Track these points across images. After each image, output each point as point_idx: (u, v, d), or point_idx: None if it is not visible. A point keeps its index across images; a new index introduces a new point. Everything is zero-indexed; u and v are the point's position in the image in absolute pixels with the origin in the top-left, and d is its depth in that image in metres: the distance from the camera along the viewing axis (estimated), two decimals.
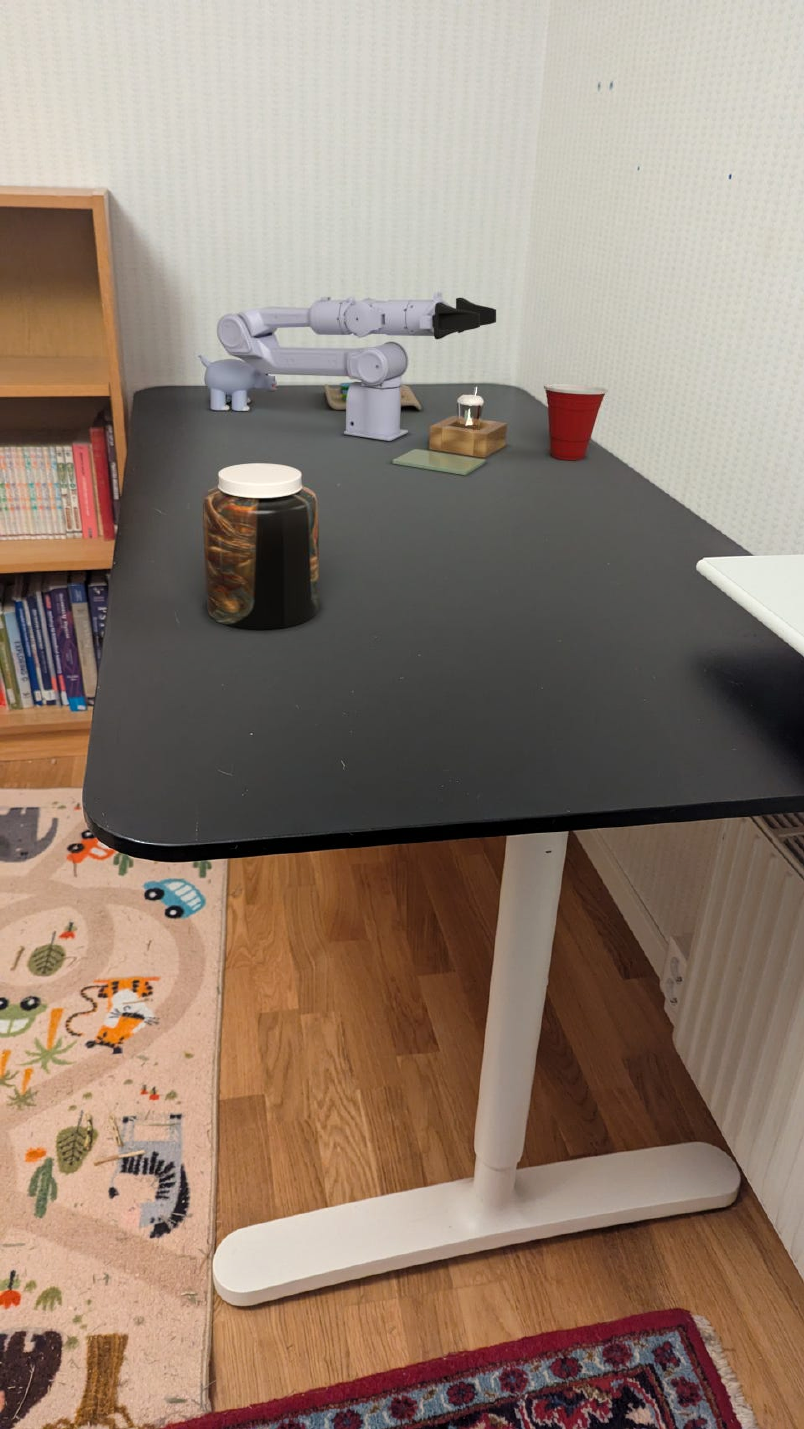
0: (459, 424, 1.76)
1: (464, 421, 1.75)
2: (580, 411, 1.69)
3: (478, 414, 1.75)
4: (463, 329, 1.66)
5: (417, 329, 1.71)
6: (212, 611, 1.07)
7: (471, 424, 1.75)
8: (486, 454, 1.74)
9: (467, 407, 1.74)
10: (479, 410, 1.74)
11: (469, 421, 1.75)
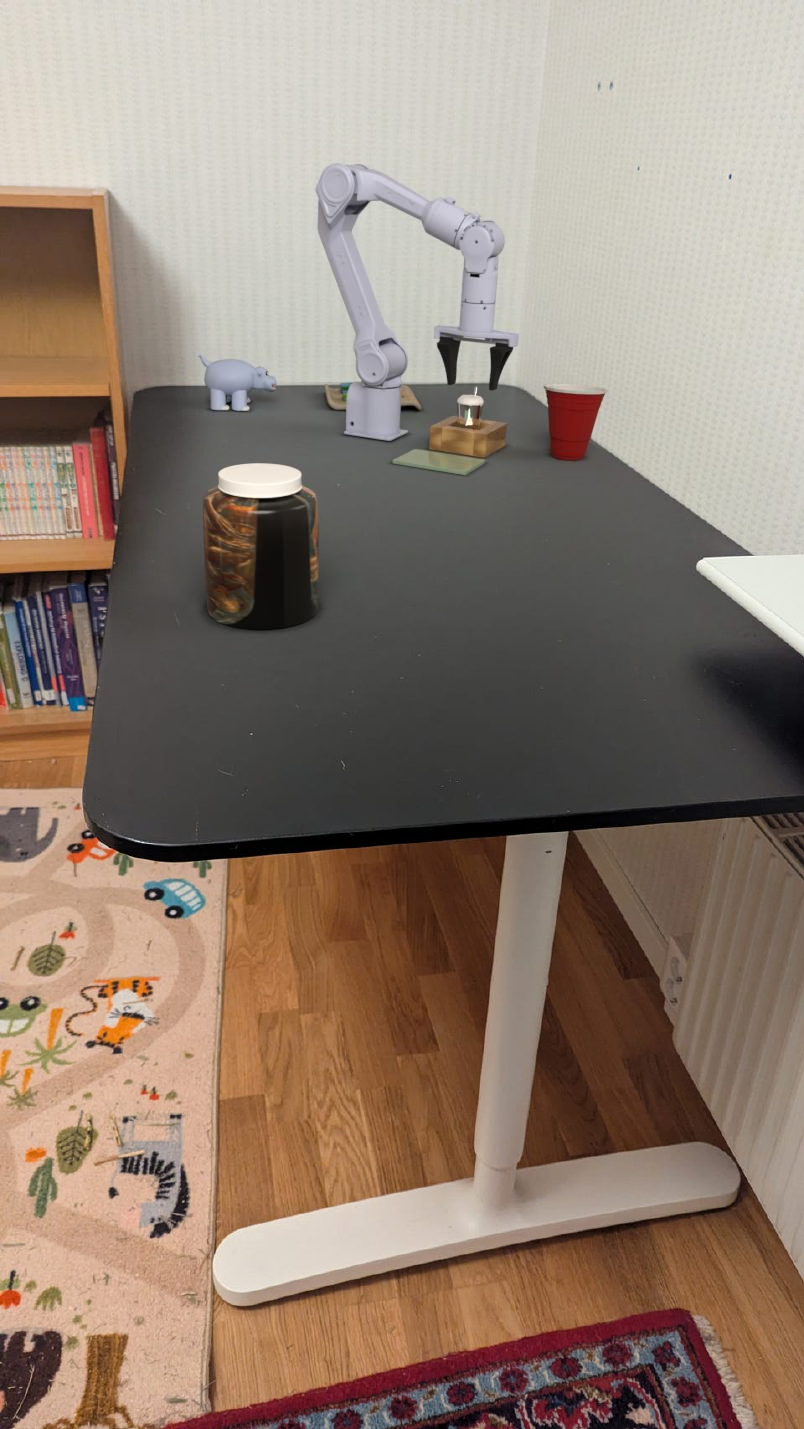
0: (459, 424, 1.76)
1: (464, 421, 1.75)
2: (580, 411, 1.69)
3: (478, 414, 1.75)
4: (495, 375, 1.71)
5: (487, 316, 1.67)
6: (212, 611, 1.07)
7: (471, 424, 1.75)
8: (486, 454, 1.74)
9: (467, 407, 1.74)
10: (479, 410, 1.74)
11: (469, 421, 1.75)
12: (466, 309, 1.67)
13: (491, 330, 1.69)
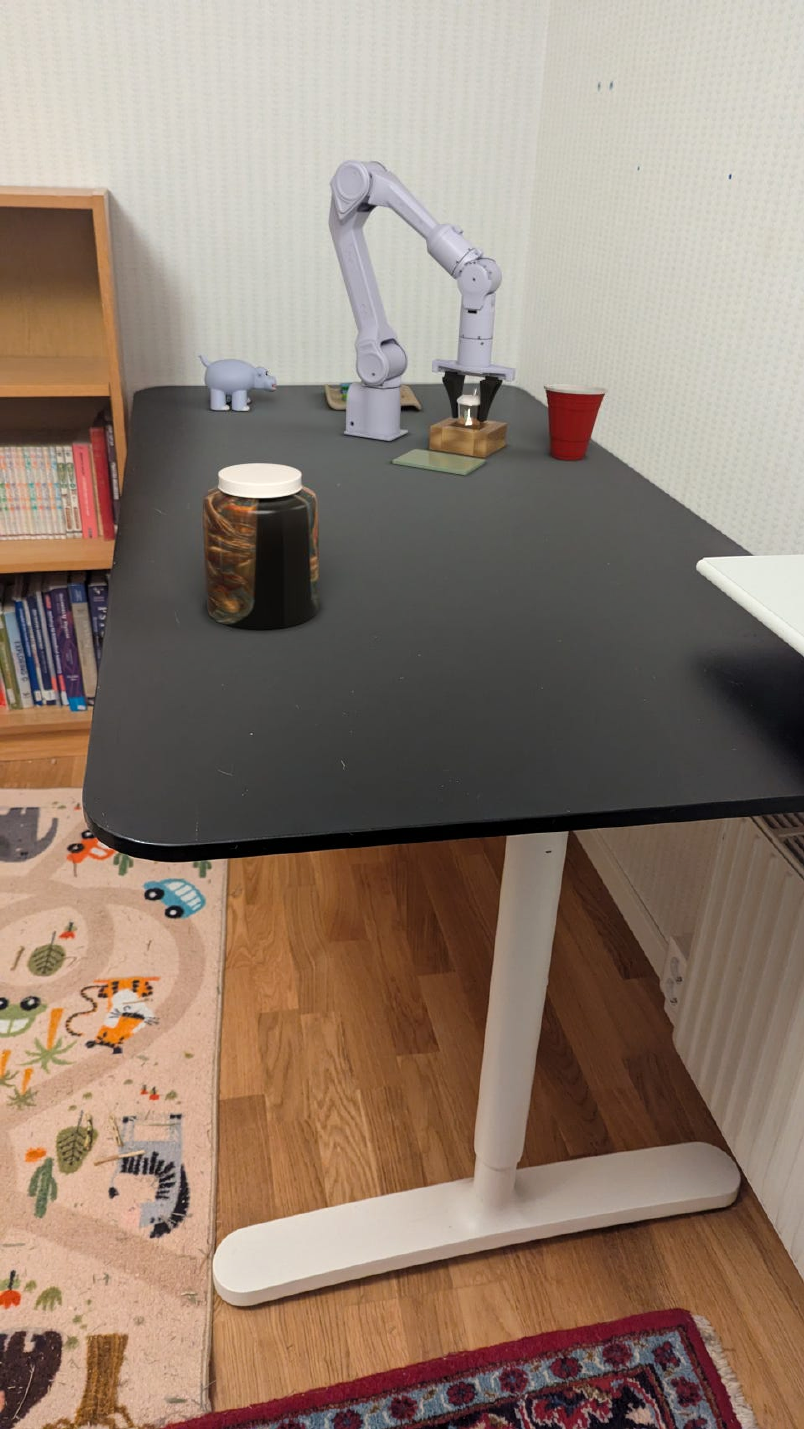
0: (459, 424, 1.76)
1: (464, 421, 1.75)
2: (580, 411, 1.69)
3: (478, 414, 1.75)
4: (485, 408, 1.74)
5: (484, 351, 1.69)
6: (212, 611, 1.07)
7: (471, 424, 1.75)
8: (486, 454, 1.74)
9: (467, 406, 1.74)
10: (479, 410, 1.74)
11: (468, 421, 1.75)
12: (464, 344, 1.69)
13: (488, 364, 1.71)
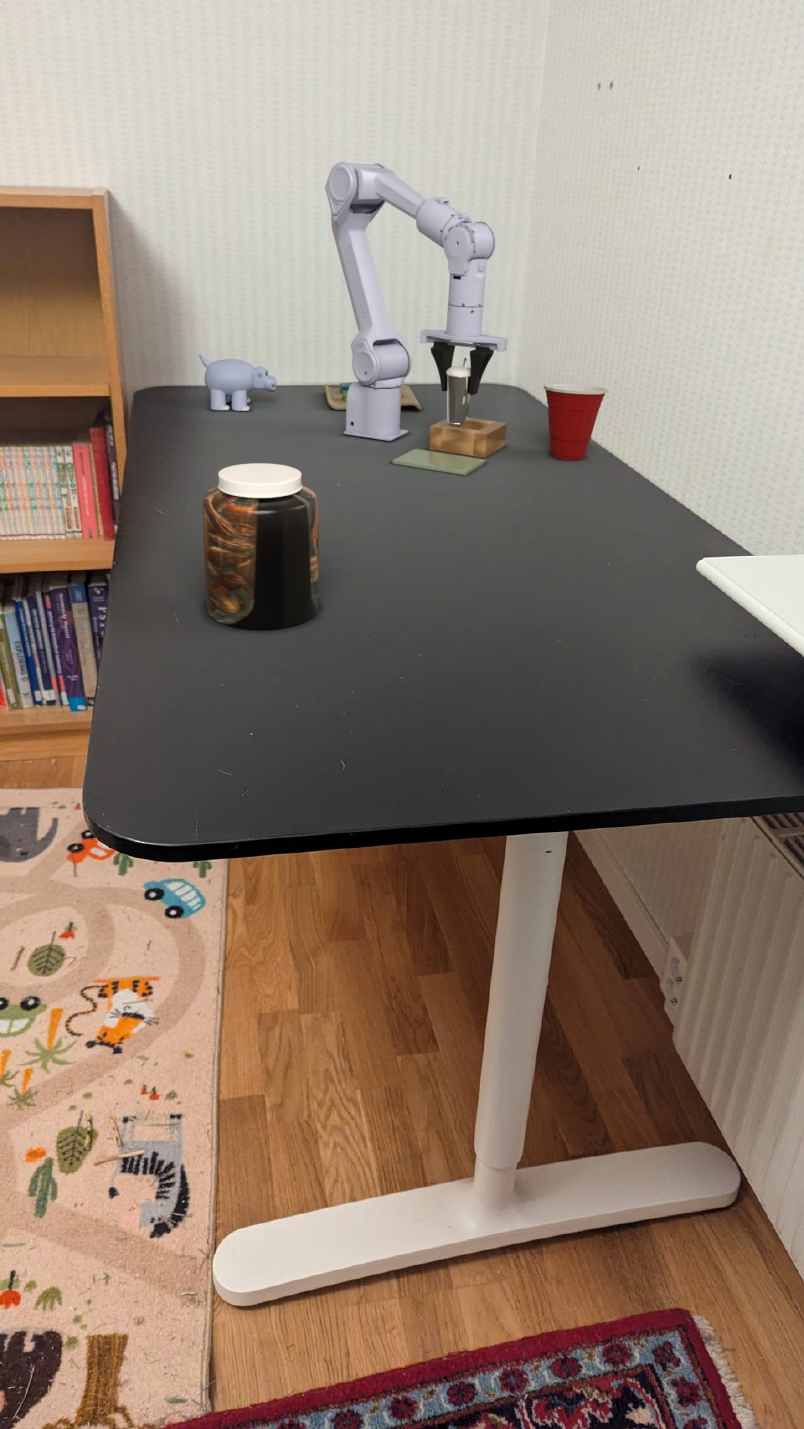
0: (448, 397, 1.69)
1: (453, 393, 1.68)
2: (580, 411, 1.69)
3: (468, 386, 1.68)
4: (475, 380, 1.66)
5: (474, 320, 1.62)
6: (212, 611, 1.07)
7: (461, 397, 1.68)
8: (486, 454, 1.74)
9: (457, 378, 1.66)
10: (469, 382, 1.67)
11: (458, 394, 1.68)
12: (453, 312, 1.62)
13: (479, 334, 1.64)
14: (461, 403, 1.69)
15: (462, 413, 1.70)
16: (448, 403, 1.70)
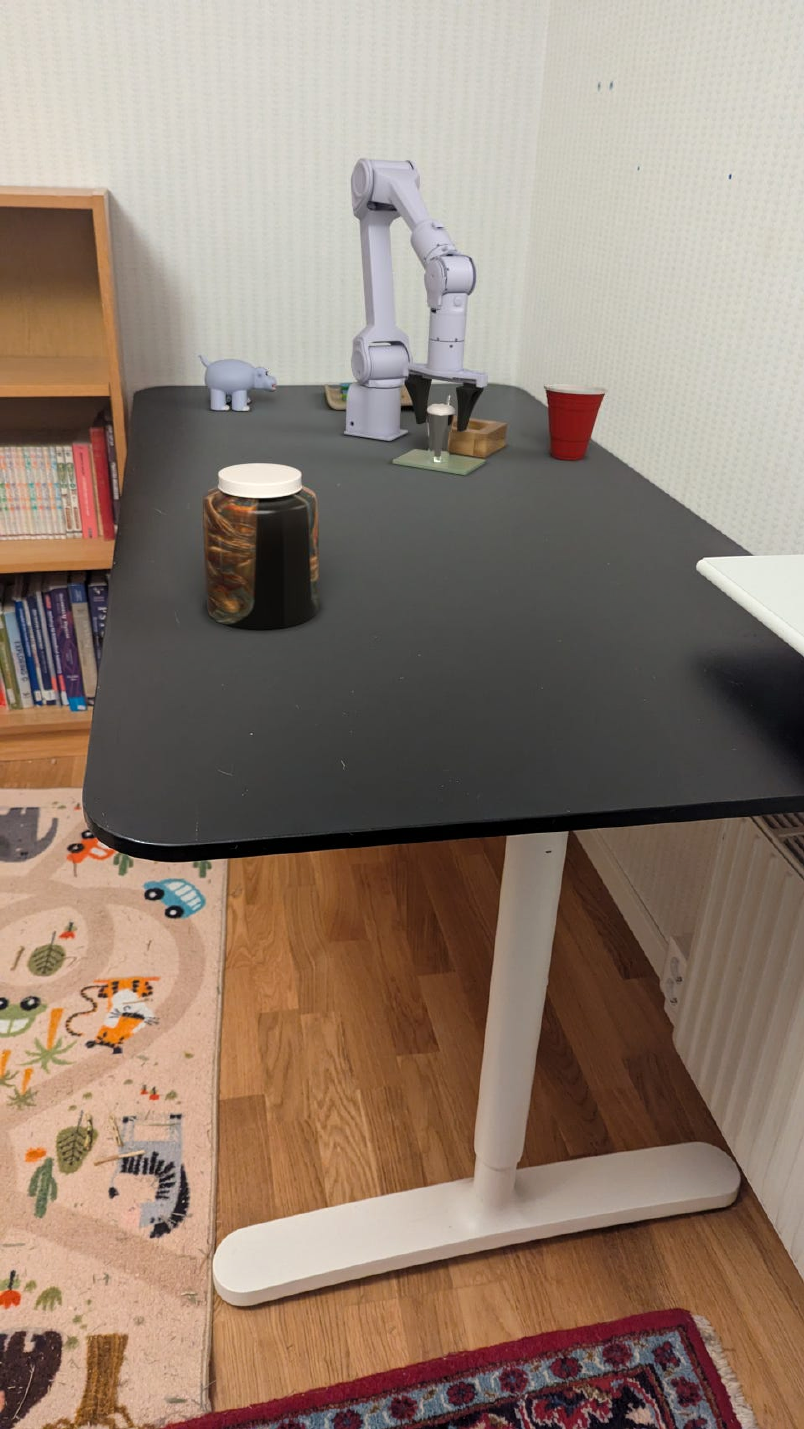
0: (429, 435, 1.66)
1: (433, 431, 1.64)
2: (580, 411, 1.69)
3: (448, 424, 1.64)
4: (463, 416, 1.62)
5: (454, 354, 1.58)
6: (212, 611, 1.07)
7: (440, 435, 1.64)
8: (486, 454, 1.74)
9: (436, 416, 1.63)
10: (449, 420, 1.64)
11: (438, 432, 1.64)
12: (432, 347, 1.58)
13: (459, 369, 1.60)
14: (441, 441, 1.65)
15: (442, 451, 1.66)
16: (428, 441, 1.66)
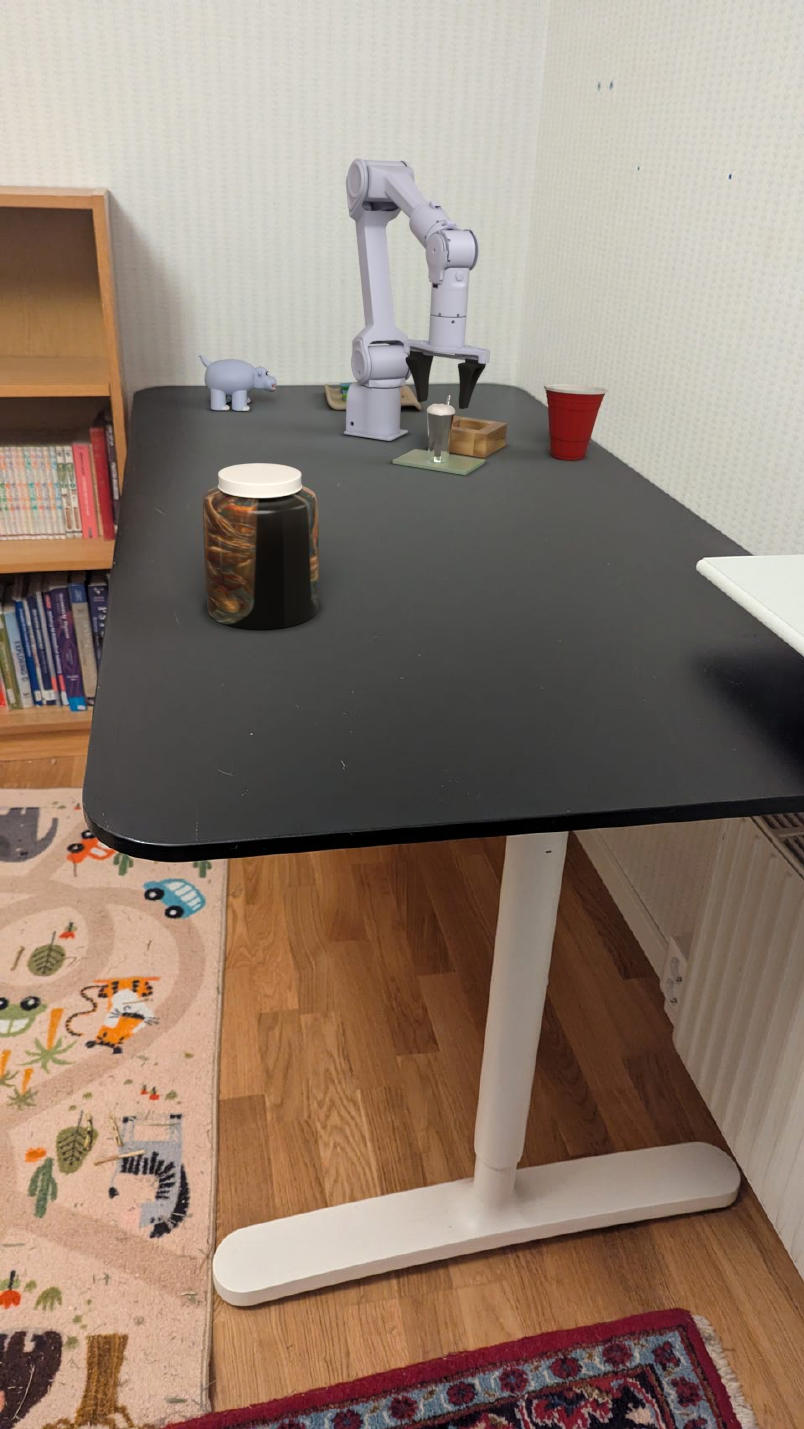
0: (429, 435, 1.66)
1: (433, 431, 1.64)
2: (580, 411, 1.69)
3: (448, 424, 1.64)
4: (465, 393, 1.60)
5: (455, 330, 1.57)
6: (212, 611, 1.07)
7: (440, 435, 1.64)
8: (486, 454, 1.74)
9: (436, 416, 1.63)
10: (449, 420, 1.64)
11: (438, 432, 1.64)
12: (434, 322, 1.57)
13: (461, 345, 1.59)
14: (441, 441, 1.65)
15: (442, 451, 1.66)
16: (428, 441, 1.66)
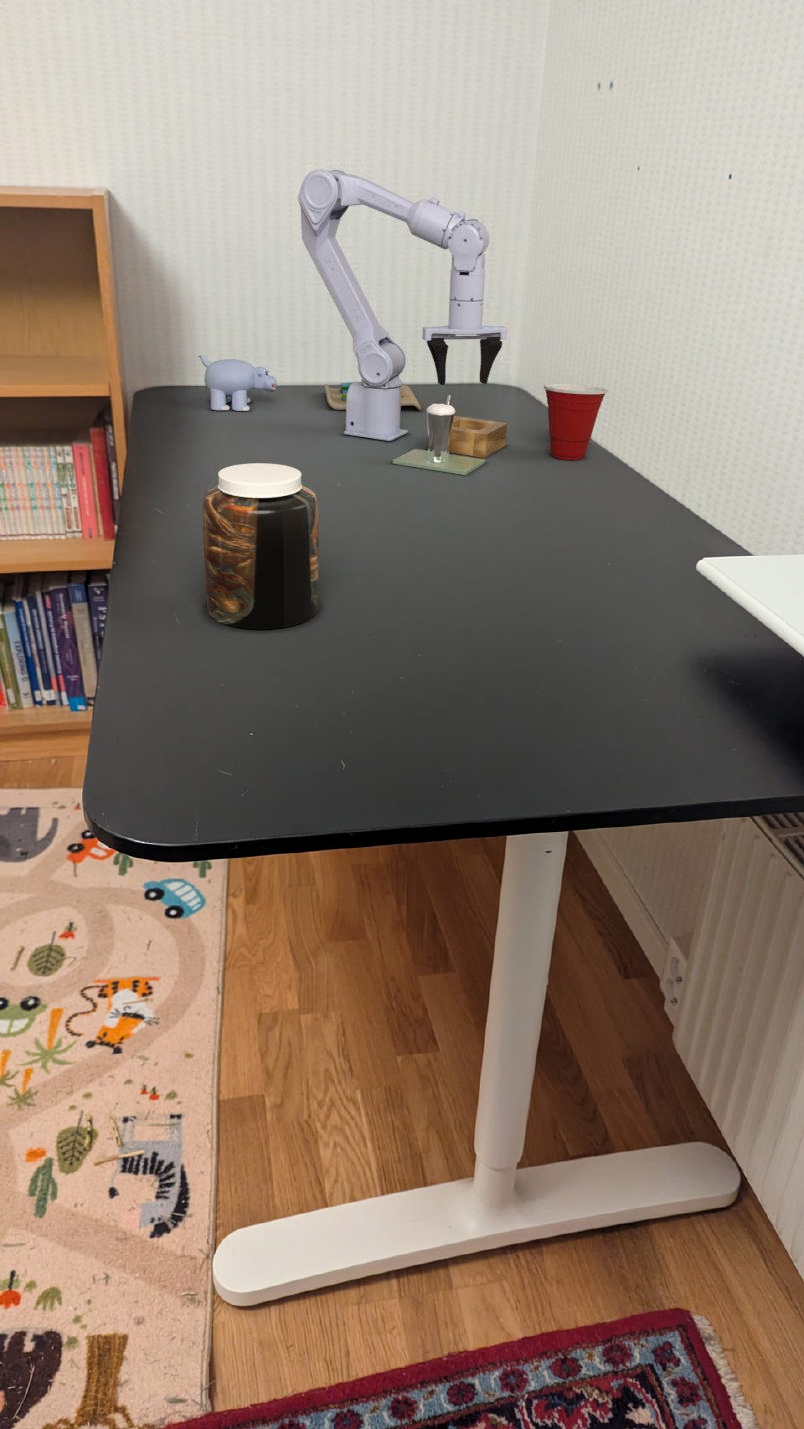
0: (429, 435, 1.66)
1: (433, 431, 1.64)
2: (580, 411, 1.69)
3: (448, 424, 1.64)
4: (490, 369, 1.76)
5: (482, 312, 1.70)
6: (212, 611, 1.07)
7: (440, 435, 1.64)
8: (486, 454, 1.74)
9: (436, 416, 1.63)
10: (449, 420, 1.64)
11: (438, 432, 1.64)
12: (465, 307, 1.68)
13: None
14: (441, 441, 1.65)
15: (442, 451, 1.66)
16: (428, 441, 1.66)
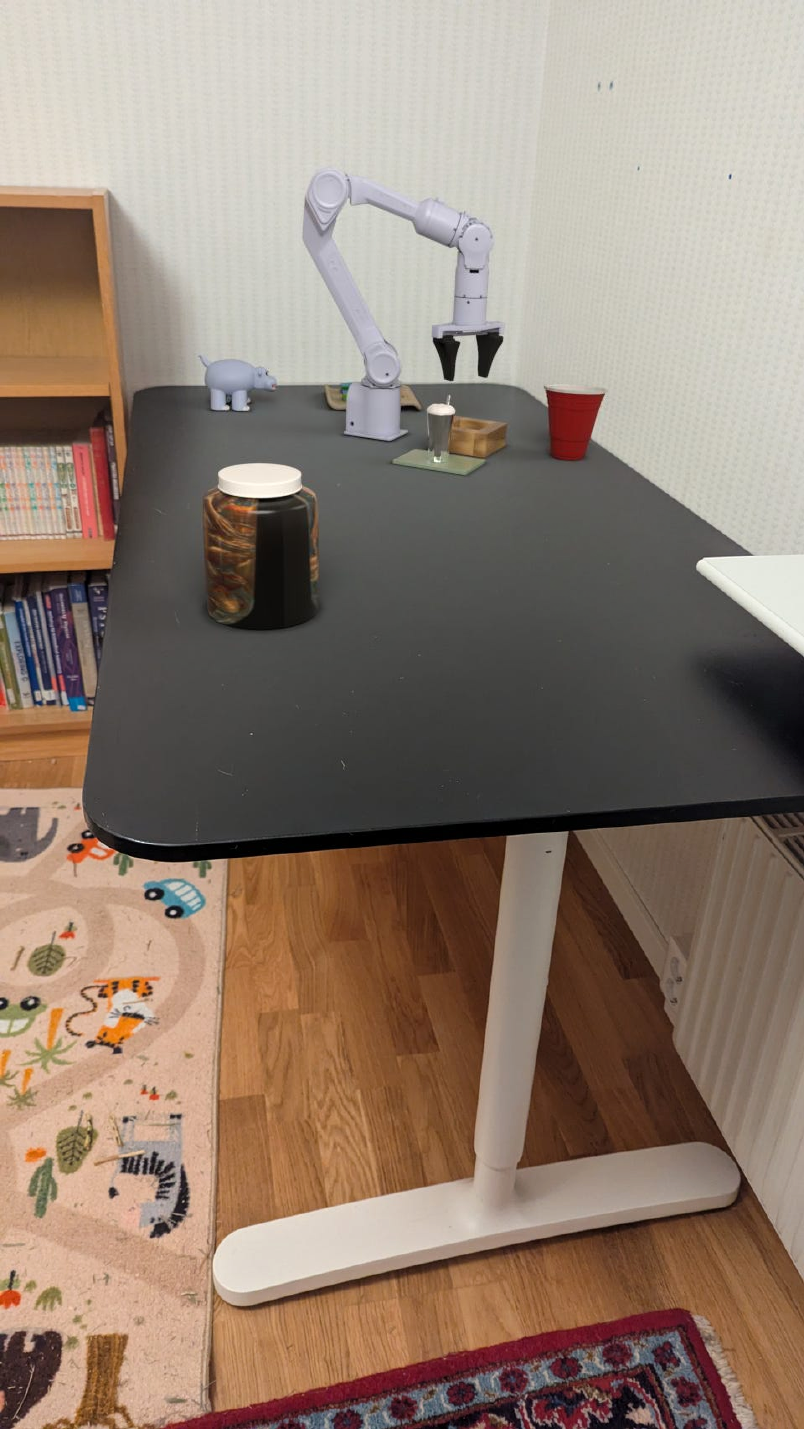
0: (429, 435, 1.66)
1: (433, 431, 1.64)
2: (580, 411, 1.69)
3: (448, 424, 1.64)
4: None
5: None
6: (212, 611, 1.07)
7: (440, 435, 1.64)
8: (486, 454, 1.74)
9: (436, 416, 1.63)
10: (449, 420, 1.64)
11: (438, 432, 1.64)
12: (475, 305, 1.73)
13: None
14: (441, 441, 1.65)
15: (442, 451, 1.66)
16: (428, 441, 1.66)
